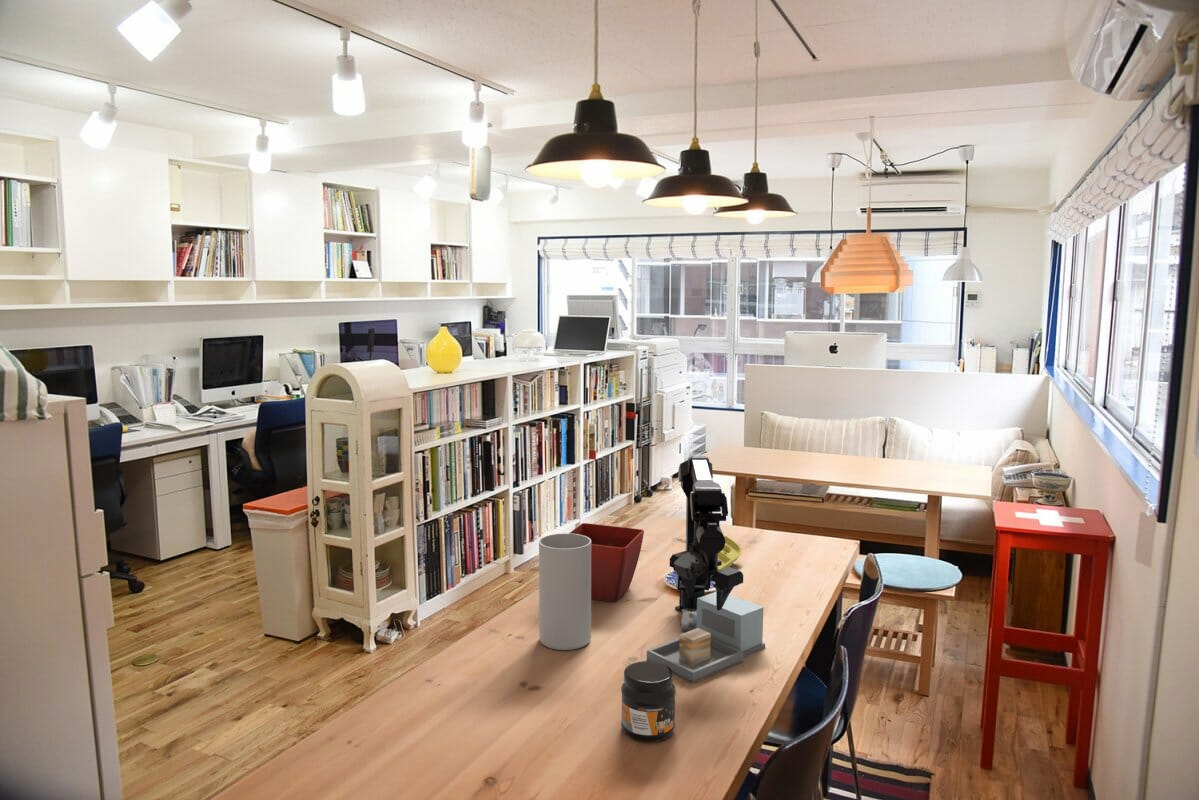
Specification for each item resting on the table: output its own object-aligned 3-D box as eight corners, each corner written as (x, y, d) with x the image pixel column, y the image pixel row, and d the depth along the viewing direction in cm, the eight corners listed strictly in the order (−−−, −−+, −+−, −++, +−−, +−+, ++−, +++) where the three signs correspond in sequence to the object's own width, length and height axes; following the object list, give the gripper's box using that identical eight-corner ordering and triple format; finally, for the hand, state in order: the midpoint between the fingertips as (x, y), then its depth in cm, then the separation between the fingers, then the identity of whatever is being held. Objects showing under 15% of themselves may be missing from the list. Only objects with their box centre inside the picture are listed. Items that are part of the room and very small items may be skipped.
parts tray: (646, 660, 193) (646, 650, 192) (696, 641, 203) (696, 631, 203) (692, 683, 182) (693, 672, 181) (743, 662, 192) (743, 651, 192)
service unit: (693, 637, 206) (694, 598, 204) (718, 627, 211) (718, 589, 210) (740, 657, 194) (741, 616, 193) (765, 647, 200) (766, 607, 199)
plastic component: (716, 571, 247) (689, 551, 251) (706, 590, 250) (680, 570, 254) (747, 550, 262) (721, 532, 266) (738, 568, 265) (713, 549, 270)
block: (679, 659, 192) (679, 634, 191) (697, 652, 196) (697, 627, 195) (691, 665, 189) (692, 640, 188) (710, 658, 193) (711, 633, 192)
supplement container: (635, 749, 156) (636, 688, 154) (612, 722, 165) (612, 665, 164) (685, 737, 160) (686, 678, 158) (659, 712, 169) (660, 655, 168)
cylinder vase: (599, 635, 206) (599, 537, 203) (576, 655, 195) (576, 551, 192) (554, 626, 212) (554, 530, 208) (529, 645, 200) (529, 544, 197)
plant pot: (644, 585, 242) (645, 528, 239) (624, 609, 224) (625, 548, 221) (582, 577, 248) (582, 522, 245) (558, 600, 230) (558, 540, 228)
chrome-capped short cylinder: (677, 629, 210) (677, 610, 210) (689, 625, 213) (690, 606, 212) (690, 635, 207) (690, 616, 206) (702, 630, 210) (703, 611, 209)
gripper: (653, 536, 196) (652, 599, 198) (712, 558, 182) (710, 626, 184) (686, 527, 203) (685, 588, 205) (746, 547, 189) (743, 613, 191)
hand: (704, 603), depth 196 cm, fingers open, 9 cm apart
